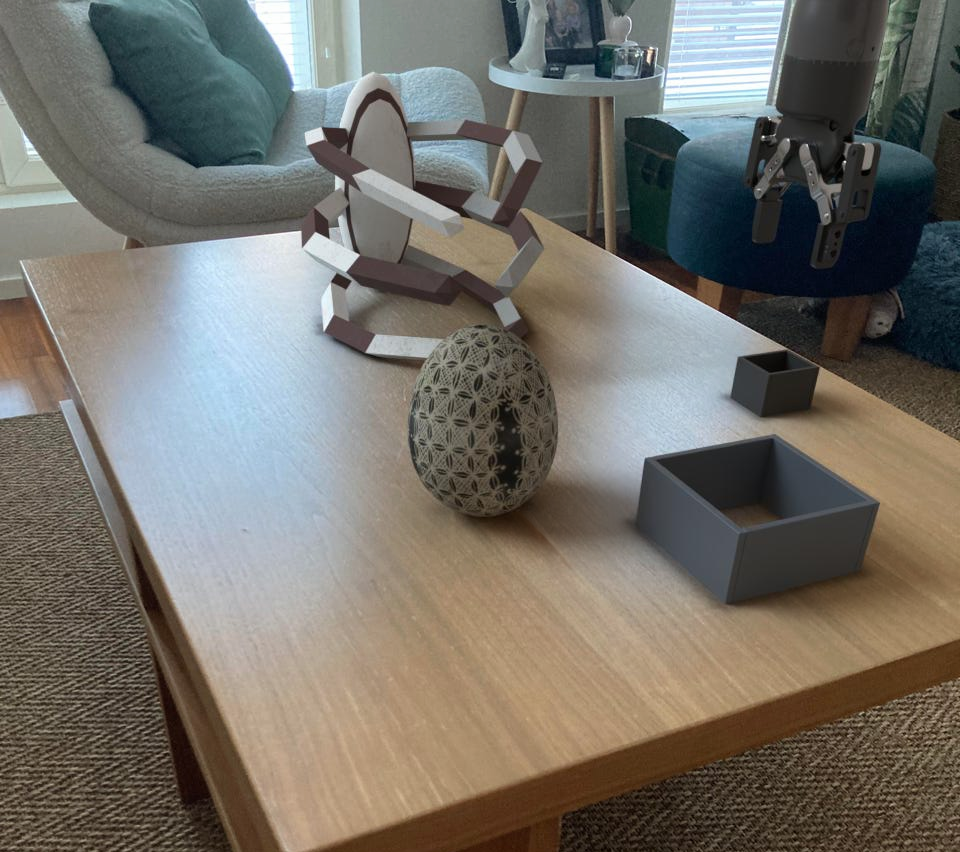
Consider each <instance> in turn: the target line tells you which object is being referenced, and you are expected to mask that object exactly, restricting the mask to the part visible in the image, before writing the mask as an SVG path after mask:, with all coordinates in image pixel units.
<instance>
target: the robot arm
mask: <svg viewBox="0 0 960 852" xmlns="http://www.w3.org/2000/svg"><path fill="white" fill-rule="evenodd" d="M889 5H890V0H795V2H794V6H793V9H792V12H791V16H790V21H789V26H788V31H787V37H786V43H785V50H784V55H783V59H782V66H781V72H780V75H779V76H780V77H779V82H778V87H777V94H776V99H775V110H776V111H777V112H778V113H779V114H780V115H766V116H759V117H757V118H756V119H755V122H754V128H753V132H752V137H751V143H750V148H749V152H748V156H747V161H746V166H745V172H744V176H743V185H744V187H745V188H751V189H752V191H753V195H754V198H755V199H756V204H755V211H754V217H753V222H752V226H751V227H752V228H751V230H752V231H751V232H752V235H751V240H752V242H754V243H757V244H759V245H760V244H769V243H771V244H772V243H773V242H774V241H775V239H776V236H777V231H778V227H779V222H780V221H779V220H780V217H781V210H782V205H783V200H782V199H779V198H781V197H782V196H783V195H784V194H785V192H786V191H787V190H788V188H789V187H790V185H791V184H792V183H794V182H797V183H799V184H800V186H802V187H805V188H808V189H809V195H810V197H811V199H812V200H814V201H815V202H816V204H817V210H818V214H819V217H820V223H818V225H817V229H816V233H815V234H816V235H815V238H814V243H813V248H812V252H811V258H810V264H809V265H810V266H811V267H812V268H814V269H817V270H821V269H822V270H823V269H831V268H833V267H834V266H835V264H836V263H837V261H838V260H839V257H840V254H841V249H842V244H843V240H844V236H845V233H846V228H847V226H848V225H849V223H851V222H857V221H865V220H867V219H868V217H869V214H870V209H871V205H872V199H873V195H874V189H875V184H876V180H877V175H878V169H879V163H880V159H881V154H882V145H881V143H880V142H878V141H876V142H875V141H874V142H873V141H872V142H858V141H856V139H855V128H856V126H857V123H858V122H859V121H860V120H861V119H862V118H864V117H865V116H866V114H867V112H868V108H869V103H870V99H871V95H872V90H873V87H874V82H875V78H876V73H877V68H878V63H879V60H880V54H881V50H882V46H883V41H884V37H885V33H886V28H887V24H888V23H887V22H888V17H889V16H888V15H889ZM761 161H763V167H762V171H761V172H758V171H759V167H760V164H761ZM833 180H834V183H831V182H833ZM856 192H857V197H856V203H855V204H854V200H855V199H854V198H855V194H856ZM833 200H834V203H835V208H834V206H833V202H832V201H833ZM853 204H854V205H853Z"/></svg>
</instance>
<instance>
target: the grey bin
mask: <svg viewBox="0 0 960 852" xmlns="http://www.w3.org/2000/svg"><path fill="white" fill-rule="evenodd" d="M757 503H760V504H762V505H763V506H764V507H765V508H767V509H768V510H769V511H770V512H772V513H773V514H775V515H776V516H778V517H779V518H780V519H779V520H774V521H769V522H764V523H760V524H756V525H751V526H747V527H740V526H739V525H738V524H737V523H735V522H734V521H733V520H732V519H731V518H729V517H728V516H727V515H725V514H724V513H723V512H722V511H724V510H728V509H734V508H738V507H743V506H748V505H752V504H757ZM880 505H881V502H880V501H879V500H878V499H875V498H874V497H872V496H871V495H869V494H868V493H866V492H865V491H864V490H862V489H860V488H858V487H857V486H855V485H854V484H853V483H851V482H849V481H848V480H846V479H845V478H844V477H842V476H840V475H839V474H837V473H836V472H834V471H833V470H831V469H829V468H828V467H826V465H824V464H822V463H820V462H819V461H817V460H816V459H814V458H812V456H810V455H808V454H807V453H805V452H803V451H802V450H800V449H799V448H798V447H796V446H795V445H793V444H791V443H790V442H788V441H786V440H785V439H783V437H780V436H779V435H777V434H776V433H772V434H767V435H762V436H757V437H751V438H745V439H740V440H734V441H731V442H730V441H729V442H723V443H719V444H713V445H708V446H701V447H695V448H692V449H691V448H690V449H686V450H681V451H674V452H670V453H669V452H668V453H663V454H658V455H653V456H647V457H644V460H643V467H642V474H641V482H640V489H639V497H638V504H637V511H636V517H635V525H636V526H637V527H638V528H639V529H640V530H641V531H643V533H645V534H646V535H647V536H648V537H649V539H651V540H653V541H654V542H655V543H656V544H657V546H659V547H660V548H661V549H662V550H663V551H665V552H666V553H667V554H668V555H669V556H670V557H671V558H672V559H674V560H675V561H676V562H677V563H678V564H679V565H680V566H681V567H682V568H684V569H685V571H686V572H688V573H689V574H690V575H691V576H693V577H694V578H695V579H696V580H697V581H698V582H699V583H700V584H701V585H702V586H703V587H704V588H706V589H707V590H708V591H709V592H710V593H711V594H712V595H713V596H715V598H717V599H718V600H719V601H720V602H721V603H723V604H724V605H730V604H733V603H736V602H737V603H738V602H742V601H745V600H749V599H753V598H756V597H757V598H758V597H761V596H764V595H769V594H773V593H777V592H781V591H785V590H789V589H794V588H798V587H802V586H805V585H810V584H814V583H818V582H821V581H825V580H829V579H833V578H839V577H841V576H846V575H849V574H853V573H857V572H860V571H861V569H862V566H863V563H864V559H865V556H866V553H867V550H868V546H869V543H870V539H871V535H872V532H873V528H874V526H875V523H876V519H877V515H878V512H879V510H880V509H879V508H880Z"/></svg>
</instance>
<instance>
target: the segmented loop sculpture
mask: <svg viewBox="0 0 960 852" xmlns="http://www.w3.org/2000/svg"><path fill="white" fill-rule="evenodd" d="M304 138H305V145H306V148H307V149H308V151H309V153H310V154H311V155H312V157H313V159H314V160H315V162H316V164H317V165H319V166H321V167H322V168H324V169H325V170H327V171H328V172H330V173H331V174H333V175H334V191H333V192H331V193H330V194H329V195H327V196H326V197H325V198H323V199H322V200H321V201H320V202H318V203H317V204H316V205H315V206H313V207H312V209H311V210H310V211H309V213H307V215H306V216H305V217H304V219H303V220H302V221H301V222H300V233H301V234H300V235H301V249H302V250H303V252H305V253H306V254H307V255H308V256H309V257H311V258H312V259H313V260H314V261H315V262H317V263H318V264H320V265H321V266H323V267H325V268H327V269H328V270H331V271H333V272H335V275H334V276H333V277H332V279H331V280H330V282H329V284H328V285H327V288H326V289H325V291H324V293H323V295H322V296H321V298H320V302H321V304H320V305H321V315H322V316H321V317H322V328H323V333H324V334H326V335H328V336H330V337H333V338H334V339H336V340H338V341H340V342H343V343H344V344H347V345H348V346H351V347H352V348H354V349H356V350H358V351H360V352H361V353H362V352H363V353H365V354H367V355H372V356H376V357H379V358H384V359H397V360H408V361H409V360H410V361H420V362H421V361H422V362H425V361H426V359H427V358H428V356H429V355H430V354H431V352H432V351H433V350H434V349H435V347H436V346H437V345H438V344H439V343H440V342H442V341H443V340H444V339H445V338H435V337H434V338H433V337H418V336H405V335H392V334H391V335H390V334H376V333H374V332H372V331H370V330H367V329H366V328H364V327H361V326H360V325H357V324H355V323H353V322H351V321H350V315H349V307H348V300H347V299H348V298H347V292H346V291H347V290H348V288H349V286H350V285H351V283H355V284H357V285H359V286H361V287H364V288H369V289H373V290H376V291H377V290H378V291H382V292H385V293H389V294H394V295H399V296H403V297H407V298H411V299H415V300H420V301H425V302H428V303H432V304H437V305H441V306H446V307H450V306H451V305H452V304H453V302H454V301H455V300H456V299H457V298H458V296H459V295H460V294H461V293H463V294H465V295H467V296H468V297H470V298H471V299H473V300H474V301H476V302H478V303H479V304H481V305H482V306H484V307H485V308H487V309H488V310H490V311H492V312H493V313H494V314H497V315H498V317H499V319H500V321H501V323H502V325H503V327H502V328H503V329H505V330H508V331H510V332H511V333H513V334H515V335H516V336H517V337H519V338H520V339H521V340H522V338H523V337H524V335H526V334H527V333H528V331H529V330H528V328H527V326H526V325H525V323H524V321H523V319H522V317H521V316H520V313H519V312H518V310H517V308H516V307H515V305H514V303H513V301H512V299H511V298H510V296H511V295H512V294H513V293H514V291H516V289H517V288H518V287H519V286H520V284H521V283H522V282H523V281H524V279H525V278H526V276H527V275H528V274H529V272H530V270H531V269H532V268H533V266H534V265H535V263H536V262H537V261H538V260H539V257H540V256H541V255H542V254H543V252H544V251H545V249H546V248H545V247H544V245H543V242H542V241H541V239H540V237H539V235H538V233H537V232H536V229H535V228H534V225H533V223H531V221H530V220H529V219H528V218H527V217H526V215H525V214H524V213H523V212H522V211H521V208H522V205H523V204H524V202H525V200H526V199H527V196H528V193H529V191H530V190H531V187H532V185H533V183H534V182H535V179H536V177H537V175H538V173H539V171H540V169H541V167H542V165H543V163H544V162H543V160H542V159H541V156H540V154H539V152H538V150H537V148H536V146H535V145H534V143H533V140H532V139H531V137H530V134H527V133H524V132H520V131H517V130H513V129H508V128H504V127H498V126H496V125H491V124H486V123H482V122H477V121H474V120H470V119H451V120H450V119H448V120H429V121H428V120H426V121H409V119H408V116H407V112H406V111H405V107H404V104H403V102H402V98H401V96H400V94H399V93H398V91H397V90H396V88H395V87H394V86H393V84H392V83H391V81H390V79H389V78H388V77H387V76H386V75H383V74H381V73H378V72H376V71H371V72H369V73H367V74H365V75H364V76H361V77H360V78H359V79H358V80H357V82H356V83H355V85H354V87H353V88H352V90H351V92H350V93H349V95H348V96H347V100H346V103H345V106H344V109H343V112H342V116H341V119H340V122H339V127H332V126H331V127H329V126H319V127H316V128H314V129H311V130H308V131H305V132H304ZM440 141H441V142H442V141H444V142H445V141H476V142H479V143H484V144H488V145H492V146H495V147H499V148H504V151H505V153H506V156H507V158H508V160H509V163H510V164H511V166H512V169H513V171H514V173H515V174H514V176H513V178H512V180H511V181H510V184H509V186H508V188H507V190H506V191H505V194H504V195H503V198H502V199H501V202H500V201H498V200H495V199H493V198H490V197H488V196H486V195H484V194H480V193H479V192H476V191H473V190H472V191H471V190H466V189H463V188H458V187H452V186H447V185H442V184H436V183H430V182H426V181H420V180H416V165H415V151H414V145H413V143H415V142H440ZM462 218H465V219H470V220H473V221H476V222H478V223H481V224H483V225H485V226H487V227H490V228H492V229H494V230H497V231H498V232H501V233H503V234H506V235H508V236H510V237H511V239H512V241H513V243H514V245H515V247H516V249H517V251H518V252H517V254H516V255H515V256H514V257H513V259H512V260H511V262H510V263H509V264H508V265H507V267H506V268H505V269H504V271H503V272H502V274H500V276H499V277H498V279H497V280H496V281H495V283H494V284H493V285H491V284H490V283H488V282H487V281H485V280H484V279H482V278H481V277H478V276H477V275H475V274H474V273H472V272H470V271H468V270H467V269H465V268H463V267H460V266H459V265H456V264H453V263H452V262H450V261H447V260H445V259H442V258H440V257H437V256H435V255H433V254H431V253H428V252H426V251H424V250H422V249H419V248H417V247H416V246H413V245H410V238H411V233H412V228H413V225H414V224H413V223H414V221H416V222H418V223H420V224H421V225H424V226H426V227H428V228H430V229H431V230H434V231H435V232H438V233H439V234H442V235H443V236H445V237H447V238H449V239H452V238H454V237H455V236H457V235H458V234H460V233H461V232H463V231H464V230H466V227H465V225H464V222H463V219H462ZM336 220H337V221H338V226H339V231H340V234H341V239H342V242H343V243H342V244H343V245H341V244H340V243H338V242H336V241H334V240H332V239H331V237H330V225H331V224H332V223H333V222H334V221H336Z"/></svg>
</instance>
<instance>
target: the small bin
mask: <svg viewBox="0 0 960 852" xmlns="http://www.w3.org/2000/svg"><path fill="white" fill-rule="evenodd" d="M820 369H821V366H819V365H817V364H815V363H814V362H812V361H810V360H808V359H806V358H804V357H803V356H801V355H799V354H797V353H795V352H793V351H792V350H790V349H788V348H787V349H779V350H772V351H767V352H766V351H765V352H759V353H752V354H747V355H739V356H737V359H736V365H735V371H734V376H733V380H732V386H731V391H730V397H729V398H730V399H731V400H733V401H734V402H736V403H737V404H739V405H740V406H742V407H743V408H745V409H746V410H748V411H749V412H751V413H752V414H754V415H756V416H757V417H759V418H766V417H771V416H777V415H783V414H787V413H788V414H789V413H793V412H799V411H806V410H810V409H811V408H812V403H813V399H814V395H815V391H816V386H817V382H818V378H819V373H820Z"/></svg>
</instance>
